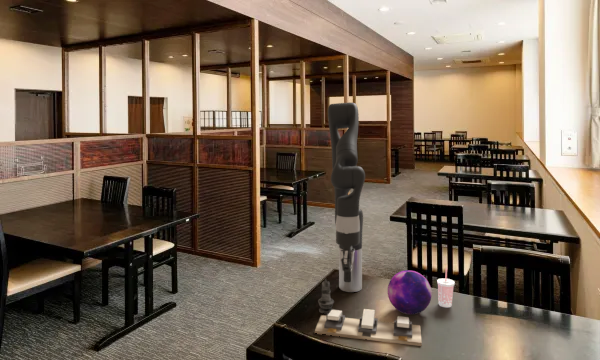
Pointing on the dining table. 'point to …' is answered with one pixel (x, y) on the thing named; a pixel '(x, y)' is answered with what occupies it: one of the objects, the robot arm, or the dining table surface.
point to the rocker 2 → (368, 319)
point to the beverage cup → (445, 291)
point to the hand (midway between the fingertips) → (347, 281)
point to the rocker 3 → (403, 322)
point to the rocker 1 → (334, 315)
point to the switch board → (370, 330)
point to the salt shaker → (325, 298)
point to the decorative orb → (409, 292)
